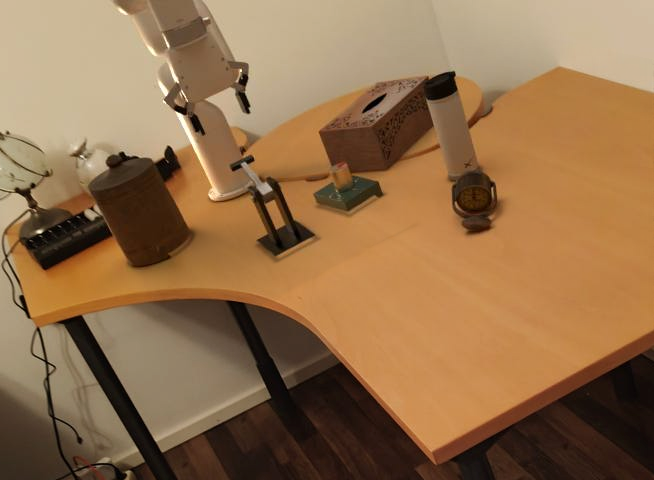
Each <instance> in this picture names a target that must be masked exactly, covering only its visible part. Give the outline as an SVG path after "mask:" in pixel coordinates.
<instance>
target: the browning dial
mask: <svg viewBox="0 0 654 480" xmlns="http://www.w3.org/2000/svg"><path fill="white" fill-rule="evenodd" d="M328 173H329V176H330V178H331V181H332V182H333V184H334V187H335V189H336V191H337V192H344V191H347V190H349V189H351V188H352V187H353V186H354V182H353V179H352V176H351V175H352V174H351V173H352V172H350V171H349V168H348V165H347V164H346V162H342V163H339V164H336V165H334V166H331V167H330V168H328Z"/></svg>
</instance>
